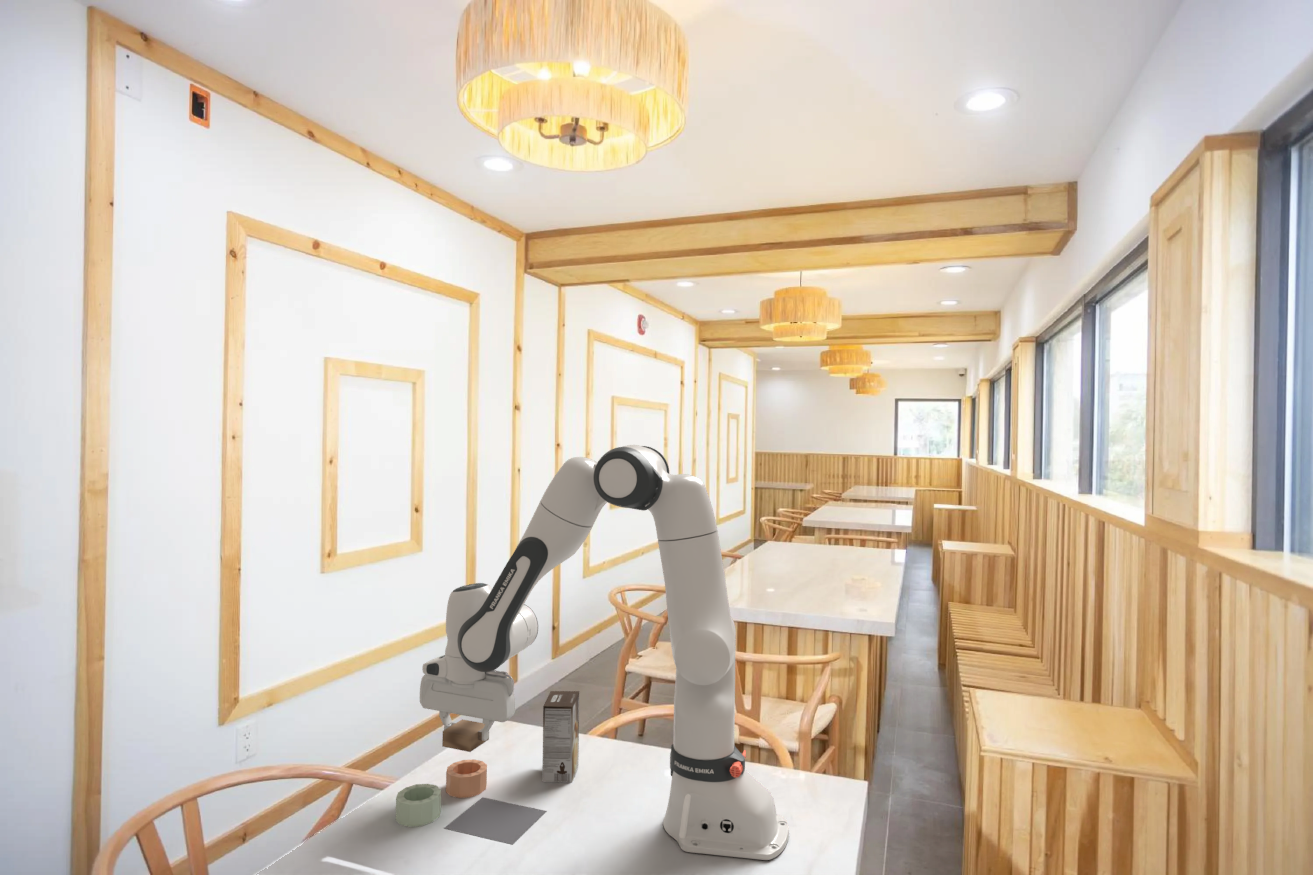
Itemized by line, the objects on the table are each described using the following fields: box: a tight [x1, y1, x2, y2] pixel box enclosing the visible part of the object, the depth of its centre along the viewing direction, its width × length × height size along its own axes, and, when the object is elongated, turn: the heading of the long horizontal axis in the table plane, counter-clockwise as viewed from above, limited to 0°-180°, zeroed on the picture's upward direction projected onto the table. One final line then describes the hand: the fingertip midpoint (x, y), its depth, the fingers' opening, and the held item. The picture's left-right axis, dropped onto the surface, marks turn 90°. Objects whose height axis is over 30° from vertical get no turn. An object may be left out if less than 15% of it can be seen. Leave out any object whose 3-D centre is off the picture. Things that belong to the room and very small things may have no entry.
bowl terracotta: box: [445, 759, 488, 799], centre depth 143 cm, size 8×8×4 cm
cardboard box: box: [441, 718, 490, 753], centre depth 143 cm, size 6×6×3 cm
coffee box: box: [541, 690, 580, 784], centre depth 151 cm, size 9×6×16 cm
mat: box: [443, 796, 548, 845], centre depth 132 cm, size 14×12×1 cm
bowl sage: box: [395, 783, 442, 828], centre depth 133 cm, size 8×8×4 cm
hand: (466, 736), depth 143 cm, fingers closed on cardboard box, 6 cm apart
